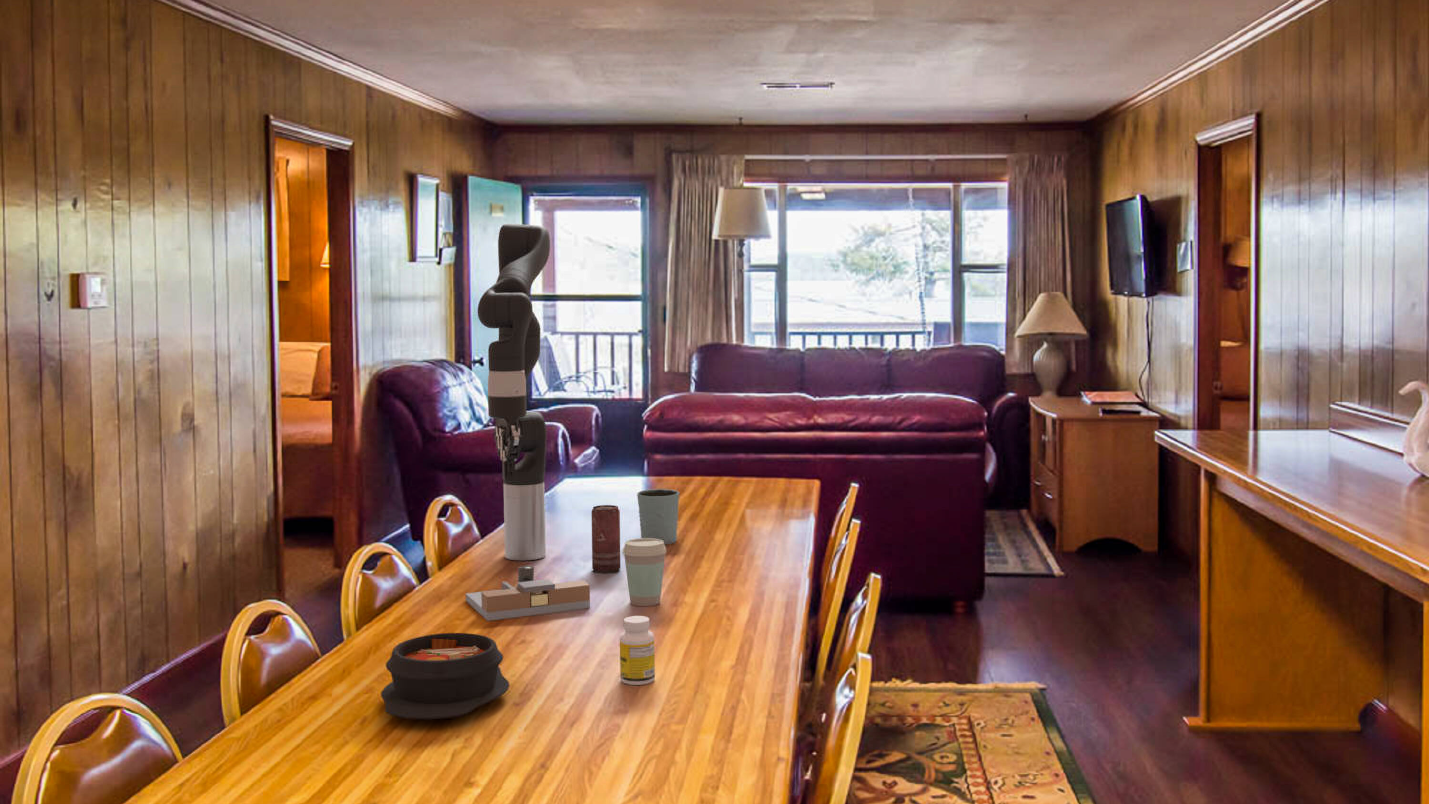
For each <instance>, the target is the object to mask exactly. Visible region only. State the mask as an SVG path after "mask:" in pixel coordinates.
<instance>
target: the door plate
mask: <svg viewBox="0 0 1429 804" xmlns="http://www.w3.org/2000/svg"><path fill="white" fill-rule="evenodd" d="M516 584H517V588H516V587H513V585H511V584H510V582H507V581H502V582H501V589H495V590H487V591H486V590H484V591H476V592H468V593H467V592H465V602H467V603H468V604H469V605H470V606H471V607H472V608H473V609H474V610H475V611H477V613H478V614H479V615H480V616H482V617H483V618H484V619H485V620H486V621H489V622H490V621H495V620H496V621H497V620H505V619H512V618H514V619H515V618H521V617H528V616H529V617H531V616H537V615H544V614H545V615H546V614H552V613H560V612H561V613H562V612H568V611H569V612H570V611H576V610H577V611H578V610H584V609H585V610H586V609H590V608H591V596H590V595H591V590H590V589H591V588H590V587H591V586H590V584H589V583H588V582H586V581H584V580H576V581H567V582H555V583H554V582H553V581H551V580H550V579H547V578H544V579H537V580H534V581H527V582H516ZM536 591H544V592H545V593H547V594H548V605H540V606H530V592H536Z"/></svg>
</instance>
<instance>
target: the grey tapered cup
mask: <svg viewBox="0 0 1429 804" xmlns="http://www.w3.org/2000/svg"><path fill="white" fill-rule="evenodd" d="M636 496H637V505H638V515H639V523H640V524H639V526H640V538H652V539H659V540H662V541H663V542H664V545H670V544H675V543H677V538H678V531H677V530H678V520H679V519H678V516H679V501H680V500H679V499H680V492H679V491H678V490H675V489H668V488H653V489H652V488H651V489H646V490H641V491H638V492H637V493H636Z"/></svg>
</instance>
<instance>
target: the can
mask: <svg viewBox="0 0 1429 804" xmlns="http://www.w3.org/2000/svg"><path fill="white" fill-rule="evenodd" d="M620 516H621V512H620V509H619V507H618V505H611V504H609V505H608V504H602V505H595V506H593V507H592V510H591V550H592V551H591V561H592V562H591V563H592V565H591V567H592V570H593V572H595V573H599V574H611V573H612V574H614V573H617V572H619V571H620V569H621V517H620Z"/></svg>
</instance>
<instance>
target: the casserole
mask: <svg viewBox="0 0 1429 804" xmlns="http://www.w3.org/2000/svg"><path fill="white" fill-rule="evenodd" d="M392 649H393V650H392V652H391V655H390V658H389V659H388V660H387V662H386V663H385V667H386V670H387V671H388V672H389V673H390V674H391V678H392V681H391V682H390V683H388V684H387V685H385V686H384V688H383V689H382V691H381V693H380V697H381V699H382V701H384V703H385V707H384V709H385V713H387V714H389V715H390V716H393V717H395V718H396V717H397V718H403V719H409V720H411V719H413V720H438V719H440V720H441V719H449V718H451V719H452V718H456V717H461V716H463V715H466V714H468V713H470V712H472V711H473V710H475V709H477V707H480V706H482V705H485V704H487V703H490V702H492V701H494V700H497V699H498V698H500V697H501V696H503V695H505V694H506V692H508V690H509V687H510V683H509V681H508V679H507V678H506V677H505V676H504V675H503V673H502V670H501V668H500V667H499V665H501V663H502V662H503V659H504V655H503V653H502V652H501V651H500V650H499V648H498V645H497V643H496V641H495V640H494V639H492V638H491V637H490V636H486V635H481V634H477V633H476V634H475V633H467V632H466V633H465V632H447V633H436V634H434V633H433V634H428V635H423V636H418V637H414V638H411V639H407V640H404V641H402V642H400V643H399V644H397V645H395V646H394V648H392Z"/></svg>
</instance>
